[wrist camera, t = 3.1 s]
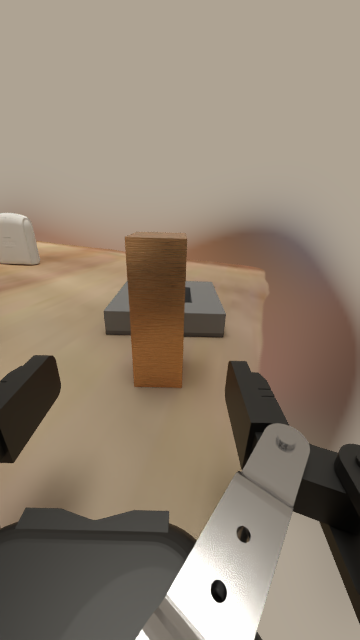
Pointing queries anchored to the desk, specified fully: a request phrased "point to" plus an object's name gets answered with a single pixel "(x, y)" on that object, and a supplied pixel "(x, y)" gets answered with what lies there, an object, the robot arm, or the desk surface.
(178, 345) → the bracket post
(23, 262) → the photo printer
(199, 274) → the desk surface
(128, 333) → the well stand
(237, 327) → the desk surface
